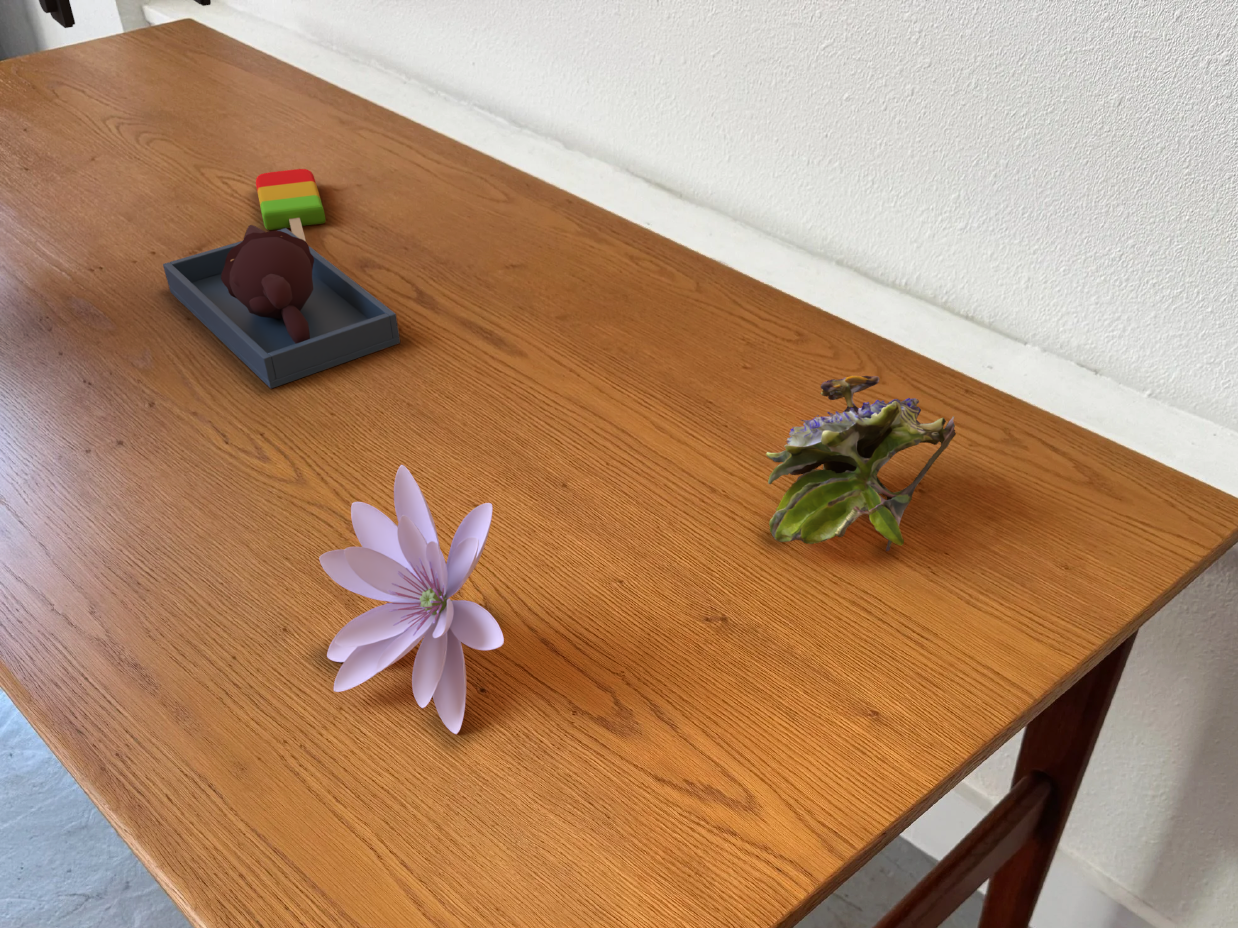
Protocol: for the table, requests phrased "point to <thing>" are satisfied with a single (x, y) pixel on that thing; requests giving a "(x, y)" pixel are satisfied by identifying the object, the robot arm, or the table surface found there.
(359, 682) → the water lily
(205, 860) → the table surface
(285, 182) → the popsicle
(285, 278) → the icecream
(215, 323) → the tray
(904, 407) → the passion flower
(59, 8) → the robot arm
